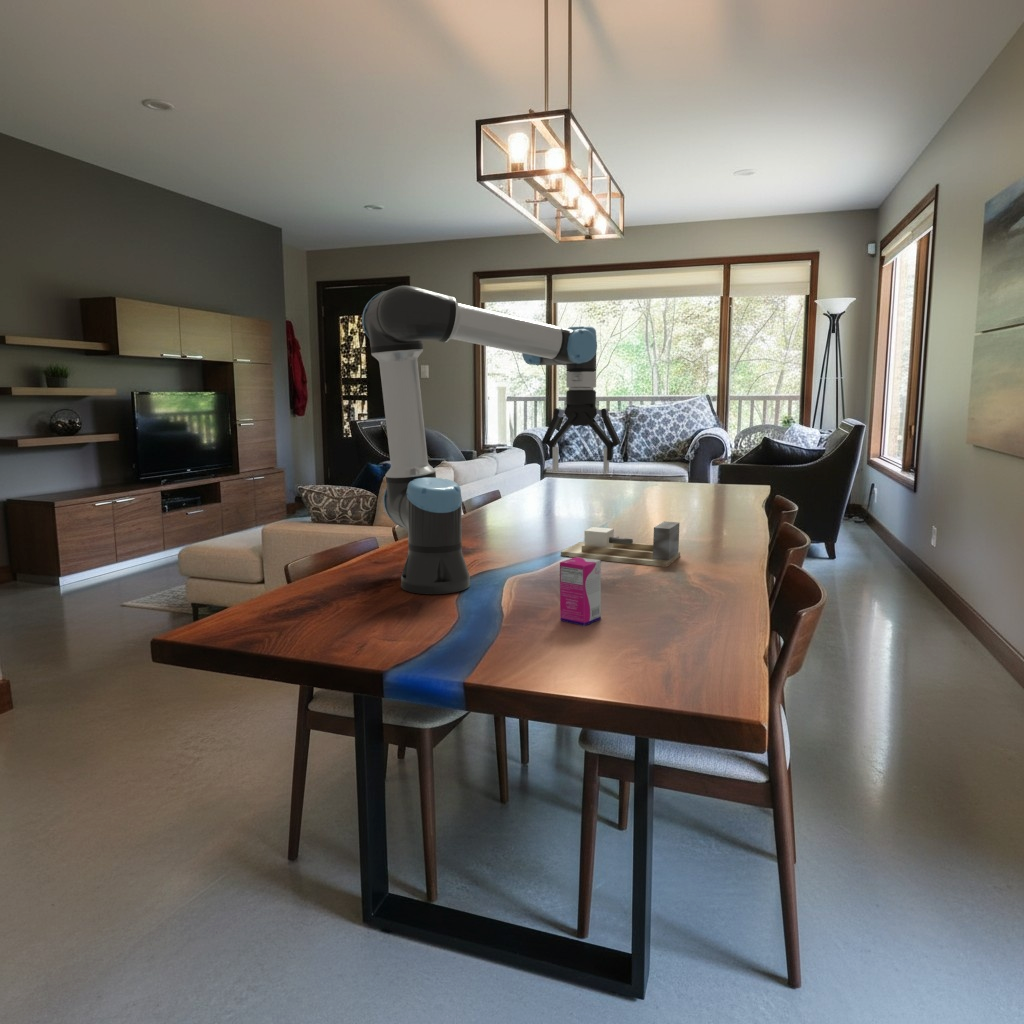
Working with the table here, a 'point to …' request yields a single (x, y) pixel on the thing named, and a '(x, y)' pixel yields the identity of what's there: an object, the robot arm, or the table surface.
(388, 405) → the robot arm
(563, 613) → the supplement box
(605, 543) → the white block with rods
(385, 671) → the table surface
